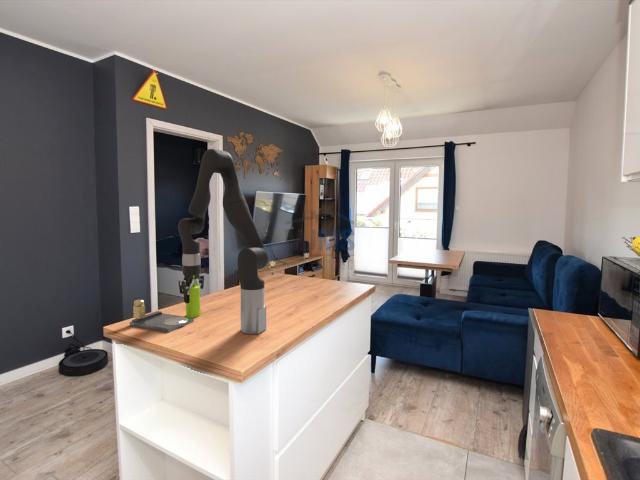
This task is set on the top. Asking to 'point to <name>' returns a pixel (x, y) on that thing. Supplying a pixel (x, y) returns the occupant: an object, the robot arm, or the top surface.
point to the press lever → (139, 309)
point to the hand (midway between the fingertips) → (192, 300)
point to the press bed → (161, 321)
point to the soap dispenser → (193, 301)
